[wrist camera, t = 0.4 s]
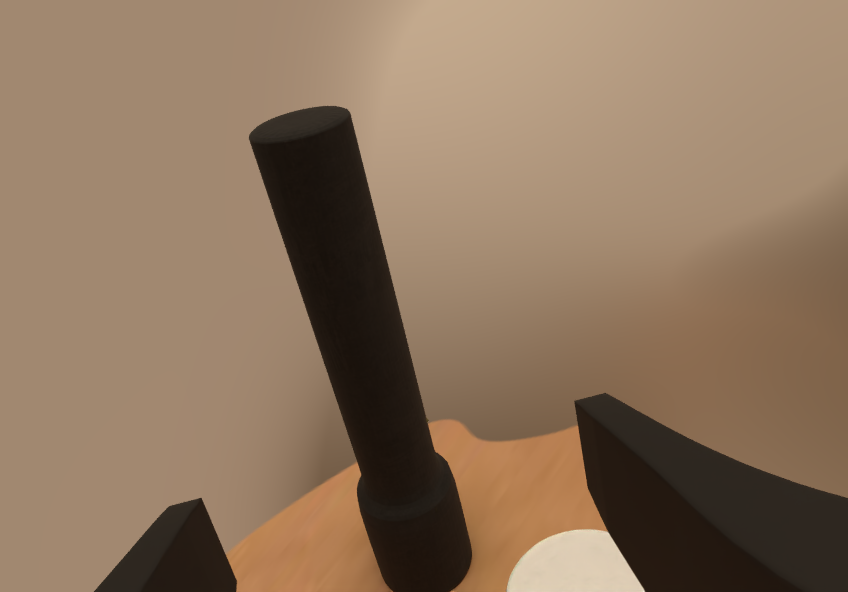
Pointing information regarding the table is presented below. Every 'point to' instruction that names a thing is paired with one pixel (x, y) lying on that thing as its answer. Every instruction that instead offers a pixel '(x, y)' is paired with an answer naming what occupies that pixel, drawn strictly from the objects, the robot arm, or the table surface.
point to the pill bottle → (574, 565)
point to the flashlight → (363, 345)
